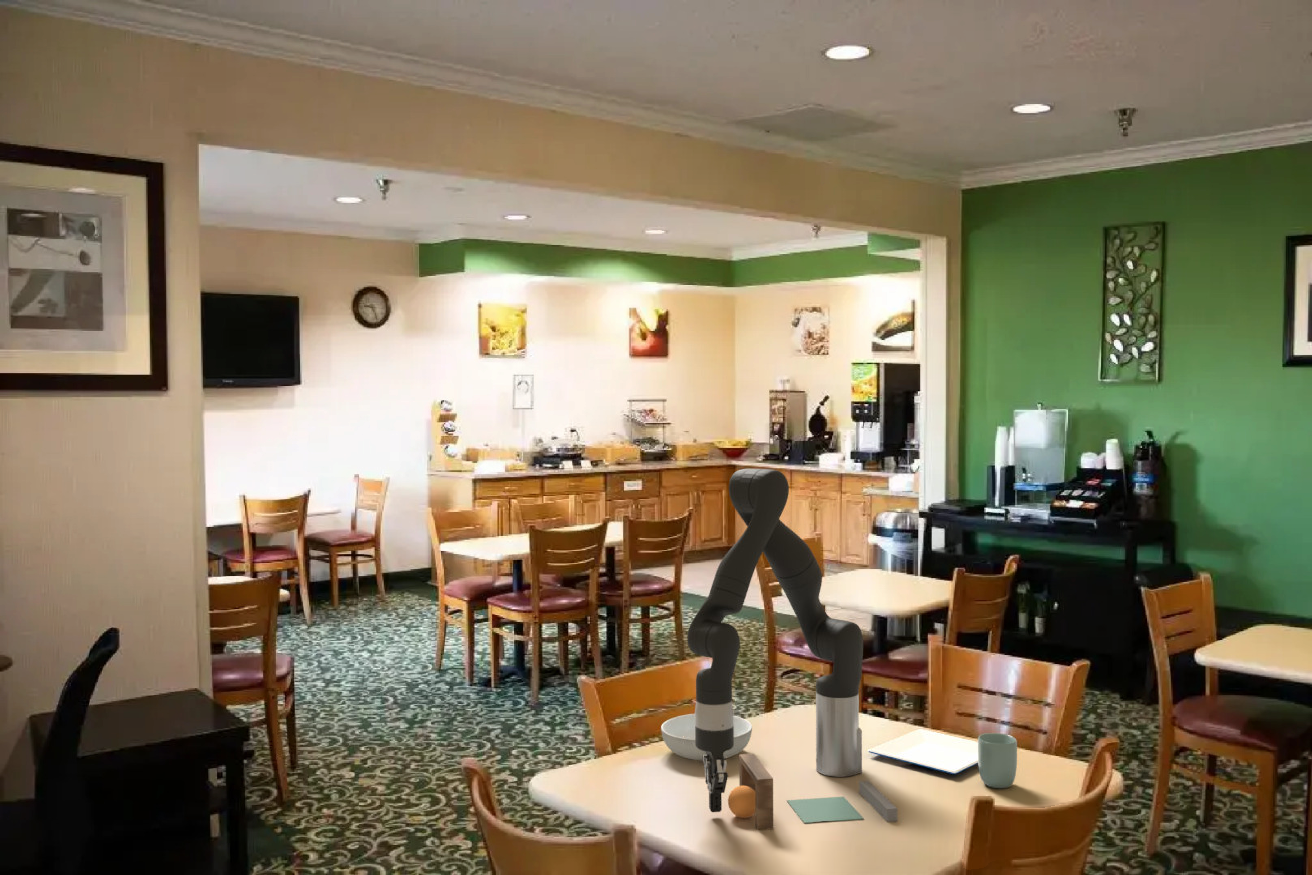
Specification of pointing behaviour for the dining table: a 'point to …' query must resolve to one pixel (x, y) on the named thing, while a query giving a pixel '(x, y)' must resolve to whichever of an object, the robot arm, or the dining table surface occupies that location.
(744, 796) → the ball
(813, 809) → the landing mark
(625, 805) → the dining table surface
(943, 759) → the plate
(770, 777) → the bridge
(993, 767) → the cup
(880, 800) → the stopper
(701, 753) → the serving bowl
